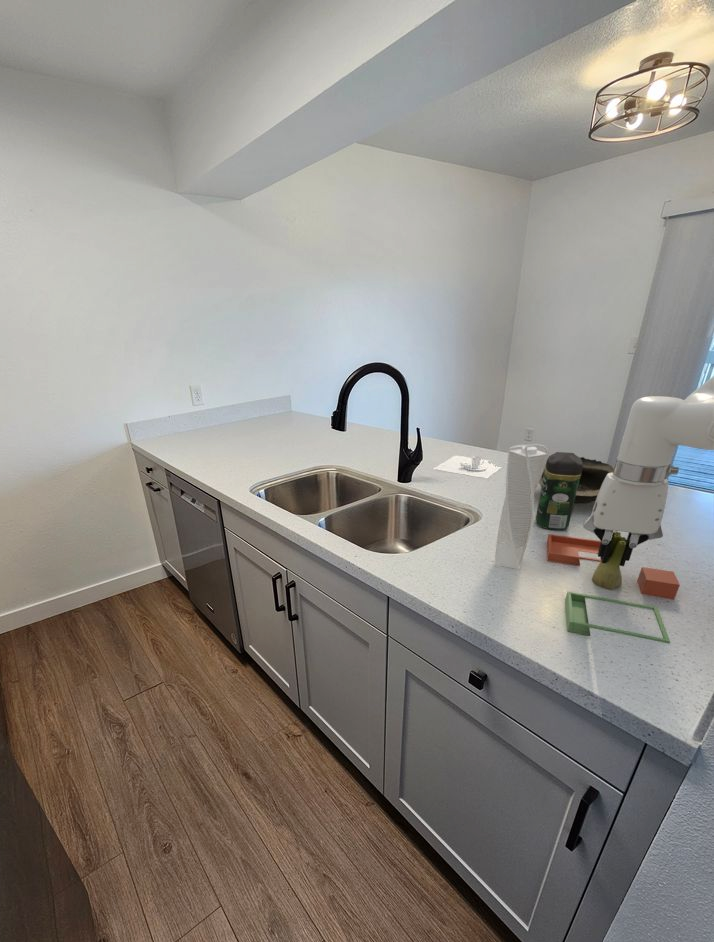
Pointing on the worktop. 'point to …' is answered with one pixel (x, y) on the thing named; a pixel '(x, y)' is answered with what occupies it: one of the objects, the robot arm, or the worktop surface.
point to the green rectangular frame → (579, 624)
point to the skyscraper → (519, 503)
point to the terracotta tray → (570, 549)
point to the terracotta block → (658, 583)
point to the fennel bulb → (611, 565)
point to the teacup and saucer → (468, 466)
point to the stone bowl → (589, 480)
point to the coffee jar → (558, 490)
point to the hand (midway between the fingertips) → (611, 560)
